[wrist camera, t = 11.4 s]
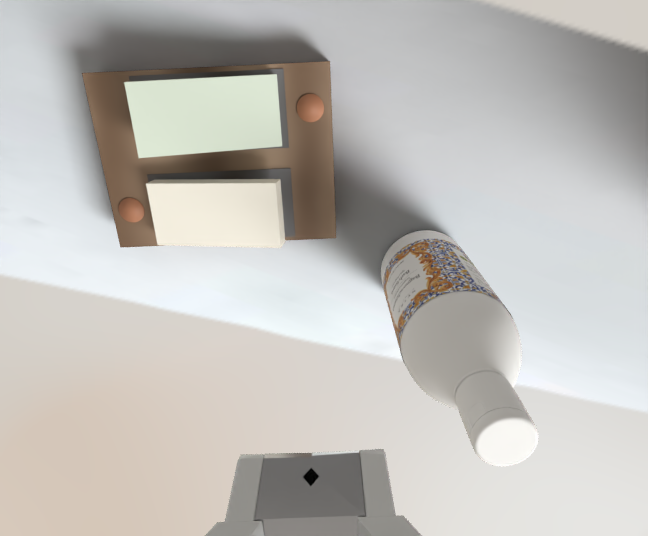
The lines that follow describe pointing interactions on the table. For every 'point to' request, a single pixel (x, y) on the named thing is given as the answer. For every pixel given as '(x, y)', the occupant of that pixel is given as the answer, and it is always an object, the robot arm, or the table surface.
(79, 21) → the table surface
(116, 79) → the switch plate
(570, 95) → the table surface
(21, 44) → the table surface
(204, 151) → the block
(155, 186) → the block
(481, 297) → the bath foam
